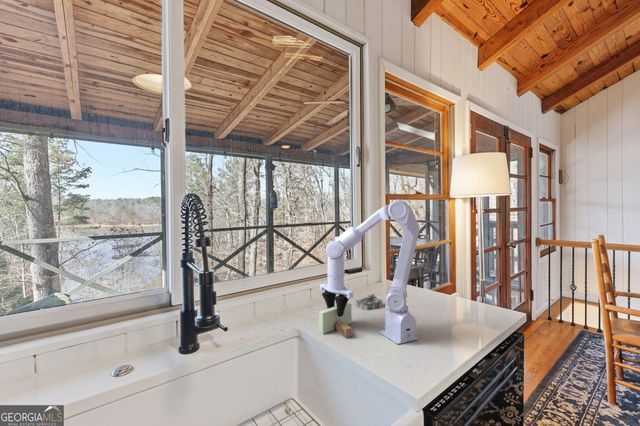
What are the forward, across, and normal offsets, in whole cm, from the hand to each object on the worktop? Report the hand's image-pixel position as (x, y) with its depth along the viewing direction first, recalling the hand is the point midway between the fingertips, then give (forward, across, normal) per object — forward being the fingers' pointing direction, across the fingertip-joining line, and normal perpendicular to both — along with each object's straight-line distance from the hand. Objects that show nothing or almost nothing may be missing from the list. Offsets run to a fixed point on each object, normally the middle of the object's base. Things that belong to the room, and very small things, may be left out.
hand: (335, 314), depth 102 cm
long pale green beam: (+5, 0, 0) cm, 5 cm away
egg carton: (+5, +6, -26) cm, 27 cm away
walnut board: (+5, 0, 0) cm, 5 cm away
